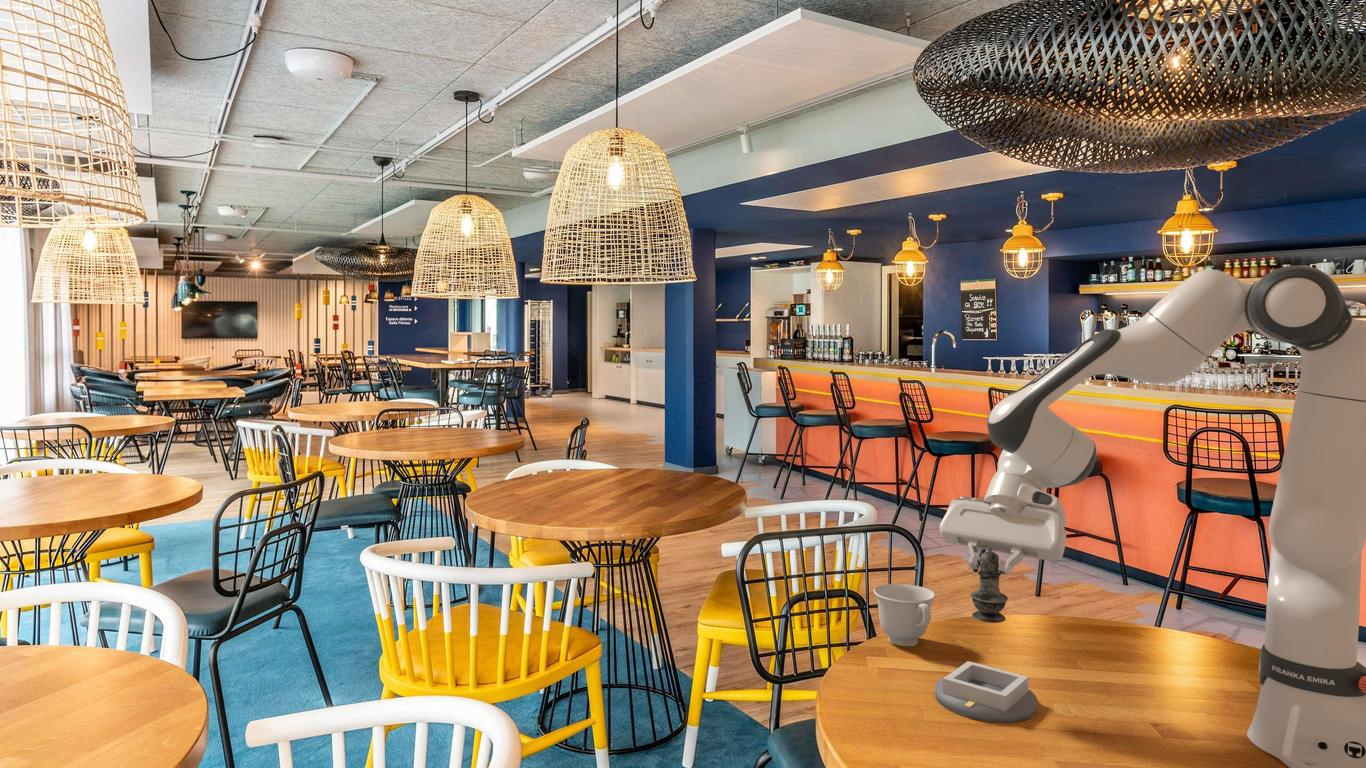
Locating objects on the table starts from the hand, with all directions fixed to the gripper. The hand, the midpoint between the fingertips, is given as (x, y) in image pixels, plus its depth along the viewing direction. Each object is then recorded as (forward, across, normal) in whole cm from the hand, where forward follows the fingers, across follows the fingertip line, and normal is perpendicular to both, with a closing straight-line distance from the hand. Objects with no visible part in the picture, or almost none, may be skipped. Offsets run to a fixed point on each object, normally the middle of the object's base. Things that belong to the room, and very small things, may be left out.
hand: (988, 570), depth 141 cm
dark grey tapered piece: (+5, 0, +6) cm, 8 cm away
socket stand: (+15, 0, +16) cm, 22 cm away
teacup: (+4, -22, +28) cm, 36 cm away
